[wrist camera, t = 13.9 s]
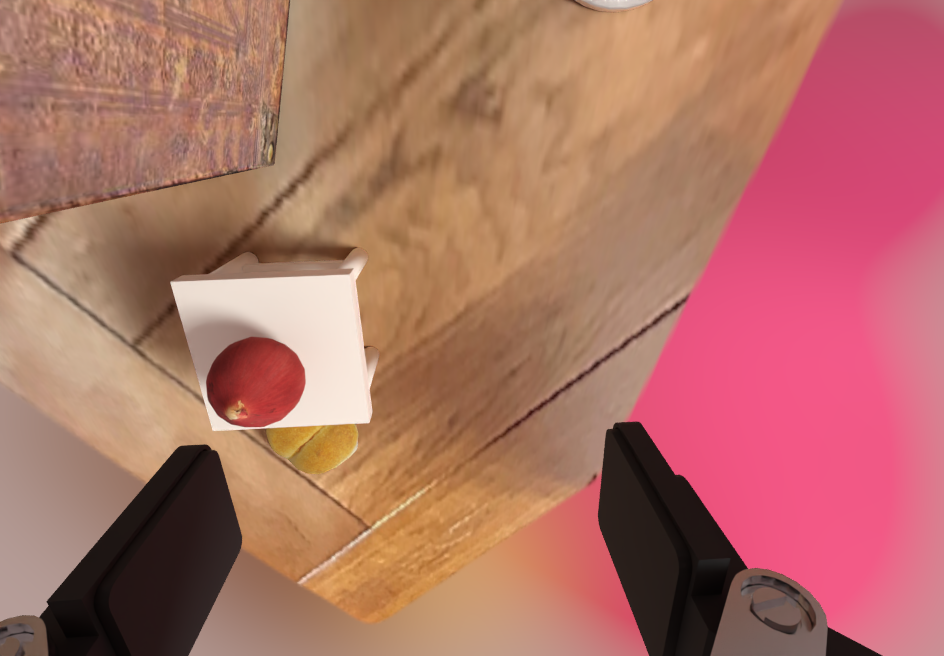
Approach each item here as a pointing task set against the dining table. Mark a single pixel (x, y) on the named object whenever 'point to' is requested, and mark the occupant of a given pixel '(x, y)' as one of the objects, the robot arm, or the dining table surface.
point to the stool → (286, 329)
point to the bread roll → (314, 445)
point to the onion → (255, 382)
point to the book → (133, 96)
